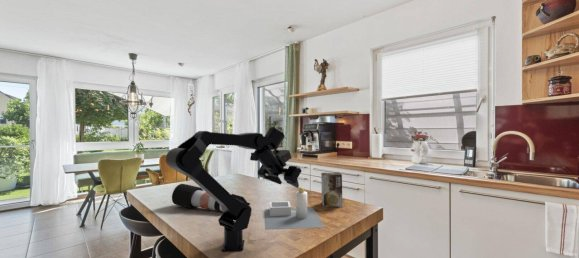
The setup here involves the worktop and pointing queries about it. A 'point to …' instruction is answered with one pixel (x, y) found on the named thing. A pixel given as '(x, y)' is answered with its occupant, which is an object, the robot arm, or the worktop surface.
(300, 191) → the white cylindrical bottle
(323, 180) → the coffee box
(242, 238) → the robot arm
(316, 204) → the worktop surface
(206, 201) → the telephoto camera lens
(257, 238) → the worktop surface
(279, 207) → the board
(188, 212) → the worktop surface
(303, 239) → the worktop surface
